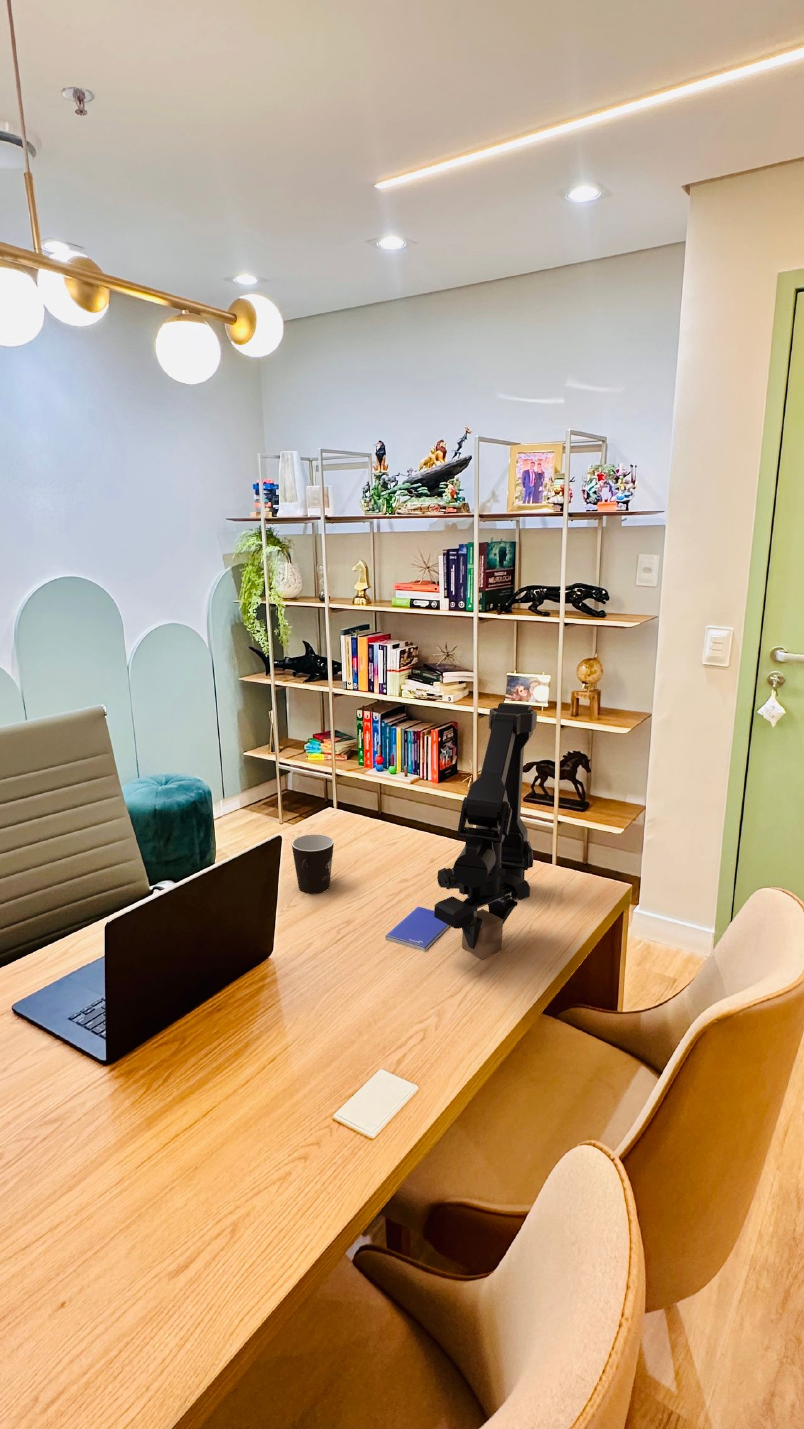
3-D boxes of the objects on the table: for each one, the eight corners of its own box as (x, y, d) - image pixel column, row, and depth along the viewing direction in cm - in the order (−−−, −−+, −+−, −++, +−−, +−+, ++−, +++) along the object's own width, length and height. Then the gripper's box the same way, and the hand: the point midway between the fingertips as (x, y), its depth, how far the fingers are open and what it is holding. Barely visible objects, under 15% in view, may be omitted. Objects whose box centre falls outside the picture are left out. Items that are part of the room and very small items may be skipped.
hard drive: (425, 946, 137) (454, 916, 148) (385, 934, 141) (417, 905, 152) (424, 954, 138) (454, 923, 148) (385, 942, 142) (417, 912, 152)
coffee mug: (312, 873, 168) (311, 830, 165) (343, 884, 163) (342, 840, 160) (274, 894, 158) (272, 849, 156) (305, 906, 154) (303, 859, 151)
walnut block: (481, 938, 142) (482, 908, 140) (501, 949, 138) (503, 919, 137) (462, 947, 139) (462, 917, 137) (482, 959, 135) (483, 928, 134)
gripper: (488, 834, 146) (485, 909, 150) (413, 861, 135) (412, 942, 138) (533, 853, 138) (530, 932, 142) (457, 884, 126) (456, 969, 130)
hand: (482, 942), depth 138 cm, fingers closed on walnut block, 5 cm apart
